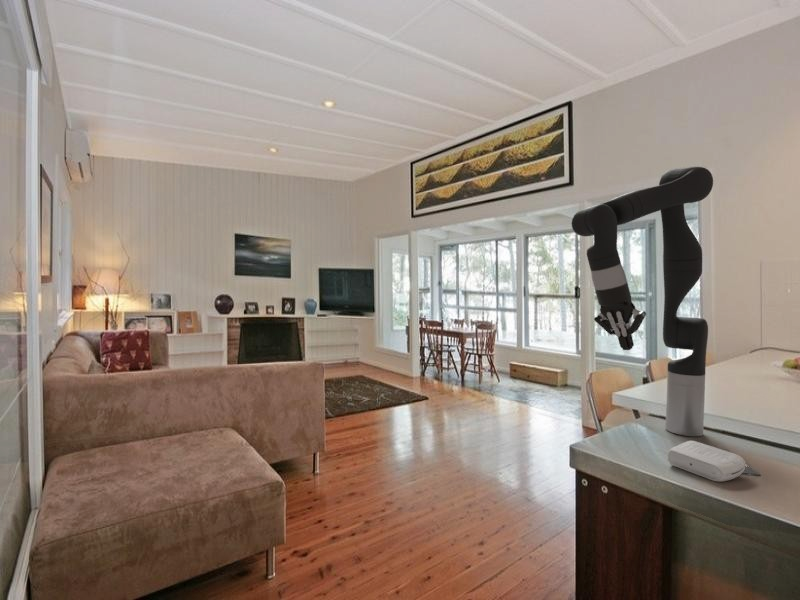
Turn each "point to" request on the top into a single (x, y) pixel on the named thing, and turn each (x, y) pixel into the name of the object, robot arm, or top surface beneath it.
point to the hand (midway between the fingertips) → (627, 349)
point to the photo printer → (706, 461)
